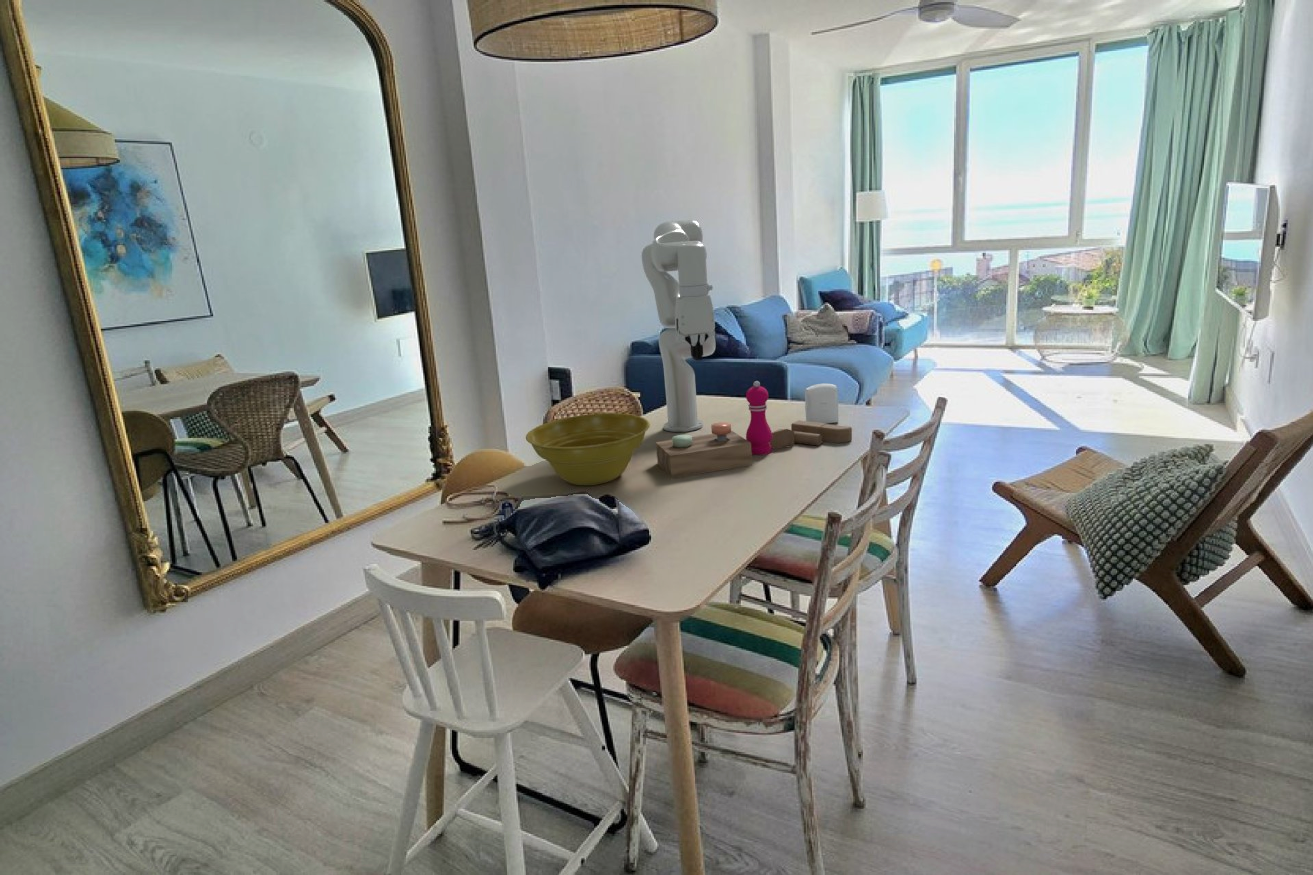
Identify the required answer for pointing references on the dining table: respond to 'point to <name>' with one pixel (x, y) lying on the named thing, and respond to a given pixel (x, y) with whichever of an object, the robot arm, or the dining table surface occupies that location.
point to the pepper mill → (758, 420)
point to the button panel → (704, 455)
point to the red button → (721, 430)
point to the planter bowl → (589, 445)
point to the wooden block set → (810, 434)
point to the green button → (682, 441)
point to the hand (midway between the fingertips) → (697, 359)
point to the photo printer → (821, 403)
